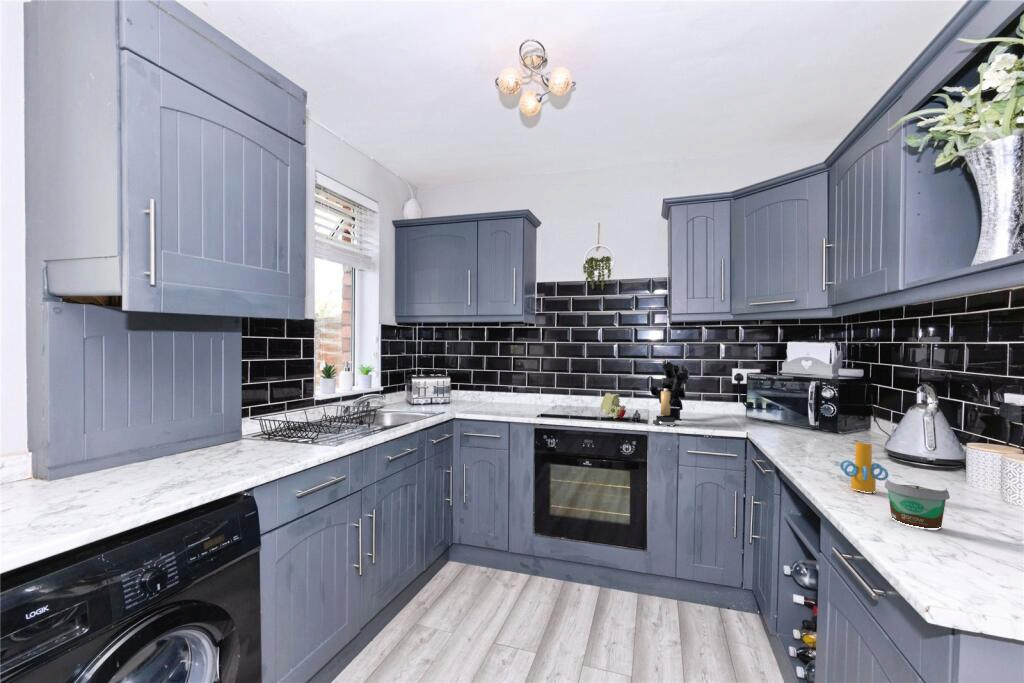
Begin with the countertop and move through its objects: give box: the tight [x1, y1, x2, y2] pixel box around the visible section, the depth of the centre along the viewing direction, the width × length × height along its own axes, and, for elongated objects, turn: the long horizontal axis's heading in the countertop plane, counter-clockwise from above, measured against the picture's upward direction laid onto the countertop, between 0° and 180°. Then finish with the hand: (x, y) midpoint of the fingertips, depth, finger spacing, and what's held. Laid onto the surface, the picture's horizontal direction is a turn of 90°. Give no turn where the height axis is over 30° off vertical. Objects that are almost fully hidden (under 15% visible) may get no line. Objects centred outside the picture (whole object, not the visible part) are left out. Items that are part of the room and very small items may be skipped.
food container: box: [883, 478, 951, 528], centre depth 110 cm, size 12×6×10 cm, turn 52°
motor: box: [652, 414, 676, 426], centre depth 246 cm, size 12×10×4 cm
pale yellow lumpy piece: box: [598, 392, 627, 419], centre depth 266 cm, size 8×17×20 cm, turn 53°
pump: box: [660, 389, 670, 416], centre depth 246 cm, size 5×5×15 cm
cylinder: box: [839, 440, 889, 492], centre depth 136 cm, size 12×10×15 cm
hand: (664, 403), depth 245 cm, fingers closed on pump, 5 cm apart
